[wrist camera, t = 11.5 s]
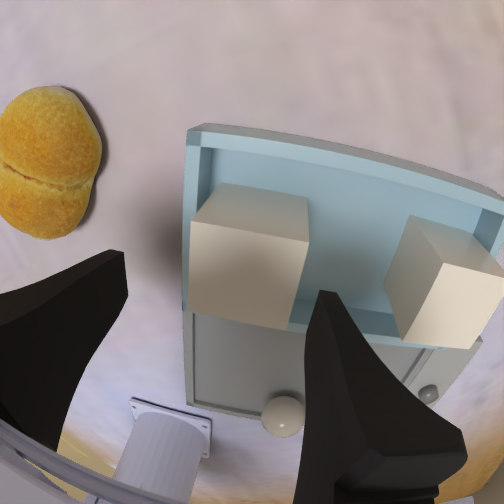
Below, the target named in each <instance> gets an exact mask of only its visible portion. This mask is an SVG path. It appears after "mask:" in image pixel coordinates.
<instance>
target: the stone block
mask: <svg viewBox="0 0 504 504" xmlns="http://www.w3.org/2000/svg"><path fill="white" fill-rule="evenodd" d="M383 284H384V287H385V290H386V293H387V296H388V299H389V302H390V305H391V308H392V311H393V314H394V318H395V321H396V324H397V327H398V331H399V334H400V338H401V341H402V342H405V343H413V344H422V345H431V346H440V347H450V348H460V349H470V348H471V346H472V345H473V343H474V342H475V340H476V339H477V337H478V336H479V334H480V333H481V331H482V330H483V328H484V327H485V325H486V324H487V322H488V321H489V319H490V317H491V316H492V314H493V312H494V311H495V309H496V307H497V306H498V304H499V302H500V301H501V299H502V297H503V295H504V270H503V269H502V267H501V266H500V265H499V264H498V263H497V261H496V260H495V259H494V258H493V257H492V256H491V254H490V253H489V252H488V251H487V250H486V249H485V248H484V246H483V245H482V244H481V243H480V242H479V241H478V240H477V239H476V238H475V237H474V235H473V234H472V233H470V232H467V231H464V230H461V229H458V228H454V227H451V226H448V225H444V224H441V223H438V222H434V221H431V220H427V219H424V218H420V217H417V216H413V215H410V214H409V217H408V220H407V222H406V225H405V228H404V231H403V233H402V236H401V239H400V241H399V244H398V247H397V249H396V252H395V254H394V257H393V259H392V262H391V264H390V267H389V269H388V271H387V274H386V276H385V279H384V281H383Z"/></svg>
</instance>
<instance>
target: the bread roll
mask: <svg viewBox="0 0 504 504" xmlns="http://www.w3.org/2000/svg"><path fill="white" fill-rule="evenodd" d="M101 155H102V143H101V139H100V135H99V133H98V131H97V129H96V127H95V125H94V124H93V122H92V120H91V118H90V116H89V115H88V113H87V111H86V109H85V108H84V106H83V104H82V103H81V101H80V100H79V99H78V97H77V96H76V95H75V94H74V93H72V92H71V91H69V90H66V89H65V88H62V87H58V86H45V87H37V88H33V89H30V90H28V91H25V92H24V93H22V94H21V95H19V96H18V97H16V98H15V99H14V100H13V101H12V102H11V103H10V104H9V105H8V106H7V107H6V109H5V110H4V111H3V113H2V115H1V116H0V215H1V216H2V217H3V218H4V219H5V220H6V221H7V222H8V223H9V224H10V225H11V226H13V227H14V228H16V229H18V230H20V231H21V232H24V233H27V234H29V235H31V236H32V237H34V238H36V239H39V240H46V241H47V240H51V239H55V238H59V237H63V236H66V235H67V234H69V233H71V232H72V231H73V230H74V229H75V228H76V226H77V225H78V223H79V222H80V221H81V219H82V218H83V216H84V214H85V211H86V209H87V206H88V203H89V198H90V193H91V188H92V184H93V180H94V177H95V175H96V173H97V170H98V168H99V164H100V160H101Z"/></svg>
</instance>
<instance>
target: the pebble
mask: <svg viewBox="0 0 504 504" xmlns="http://www.w3.org/2000/svg"><path fill="white" fill-rule="evenodd" d="M261 421H262V425H263V427H264V428H265V430H266V431H267V432H268V433H270V434H271V435H273V436H276V437H282V438H283V437H290V436H292V435H294V434H296V433H297V432H299V431H300V430H301V428H302V427H303V425H304V423H305V409H304V407H303V405H302V404H301V403H300V402H299V401H298V400H297V399H295V398H293V397H290V396H278V397H275V398H273V399H271V400H270V401H268V402H267V403H266V404H265V406H264V407H263V410H262V413H261Z"/></svg>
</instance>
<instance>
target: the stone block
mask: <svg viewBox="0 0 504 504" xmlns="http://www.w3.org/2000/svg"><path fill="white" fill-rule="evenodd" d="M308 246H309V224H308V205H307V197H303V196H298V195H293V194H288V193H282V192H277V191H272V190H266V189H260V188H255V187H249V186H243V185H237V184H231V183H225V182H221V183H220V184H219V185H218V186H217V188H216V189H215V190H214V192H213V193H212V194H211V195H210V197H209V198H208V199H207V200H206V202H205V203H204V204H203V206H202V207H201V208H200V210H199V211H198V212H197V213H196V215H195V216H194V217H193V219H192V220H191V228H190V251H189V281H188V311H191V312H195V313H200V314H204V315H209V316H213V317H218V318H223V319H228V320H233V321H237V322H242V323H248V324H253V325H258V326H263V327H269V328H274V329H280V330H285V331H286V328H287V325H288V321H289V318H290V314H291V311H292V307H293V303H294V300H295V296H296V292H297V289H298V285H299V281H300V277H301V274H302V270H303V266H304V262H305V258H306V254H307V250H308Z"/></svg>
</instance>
